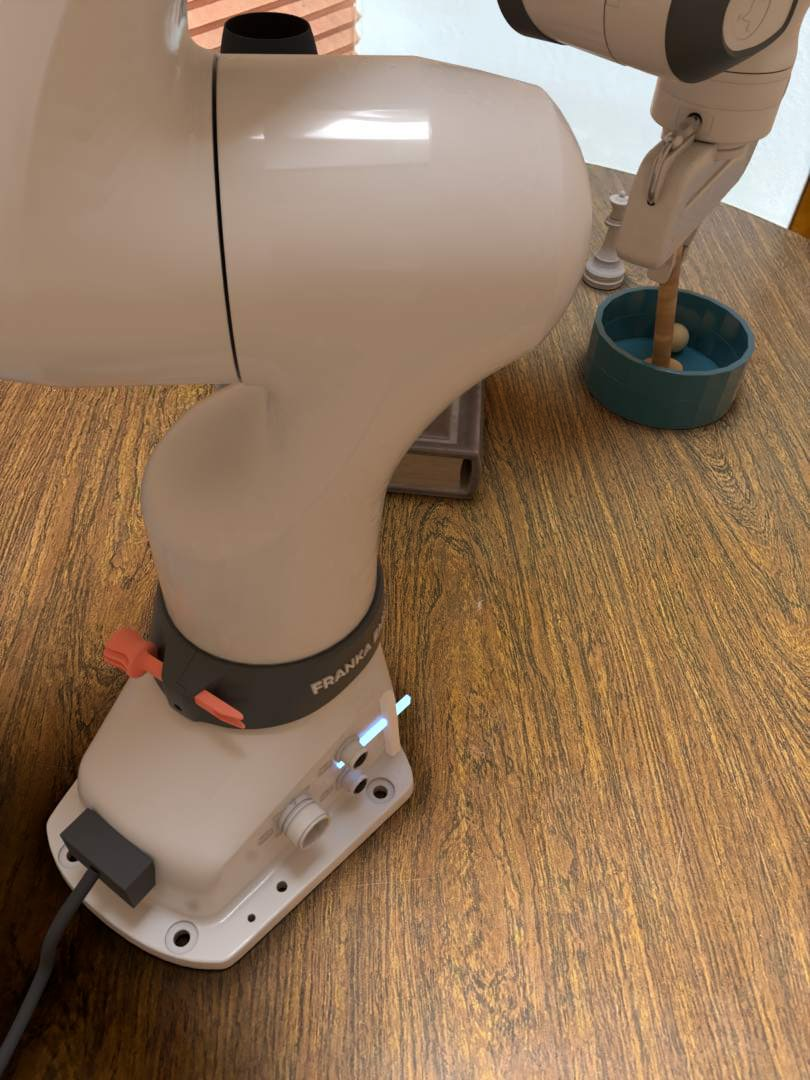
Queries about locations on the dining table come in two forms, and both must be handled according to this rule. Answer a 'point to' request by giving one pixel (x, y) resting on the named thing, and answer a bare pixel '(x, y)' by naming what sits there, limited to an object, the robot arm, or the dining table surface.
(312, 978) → the dining table surface
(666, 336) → the wooden peg stand
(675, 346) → the beige ball
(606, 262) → the chess piece
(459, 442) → the book
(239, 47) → the wine glass
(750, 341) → the bowl
